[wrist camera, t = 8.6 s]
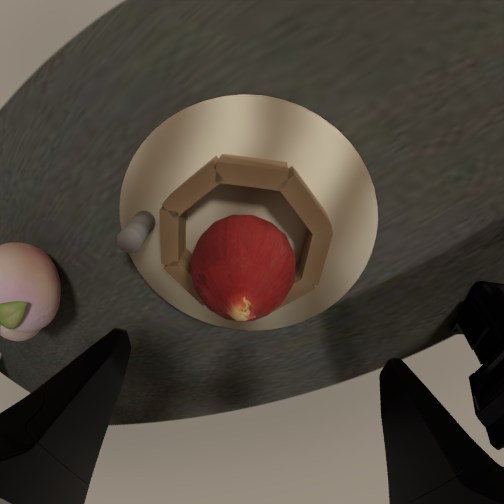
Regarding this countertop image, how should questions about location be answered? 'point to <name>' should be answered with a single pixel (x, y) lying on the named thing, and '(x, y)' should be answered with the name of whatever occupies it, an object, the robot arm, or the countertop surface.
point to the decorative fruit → (26, 290)
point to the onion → (243, 267)
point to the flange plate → (249, 200)
